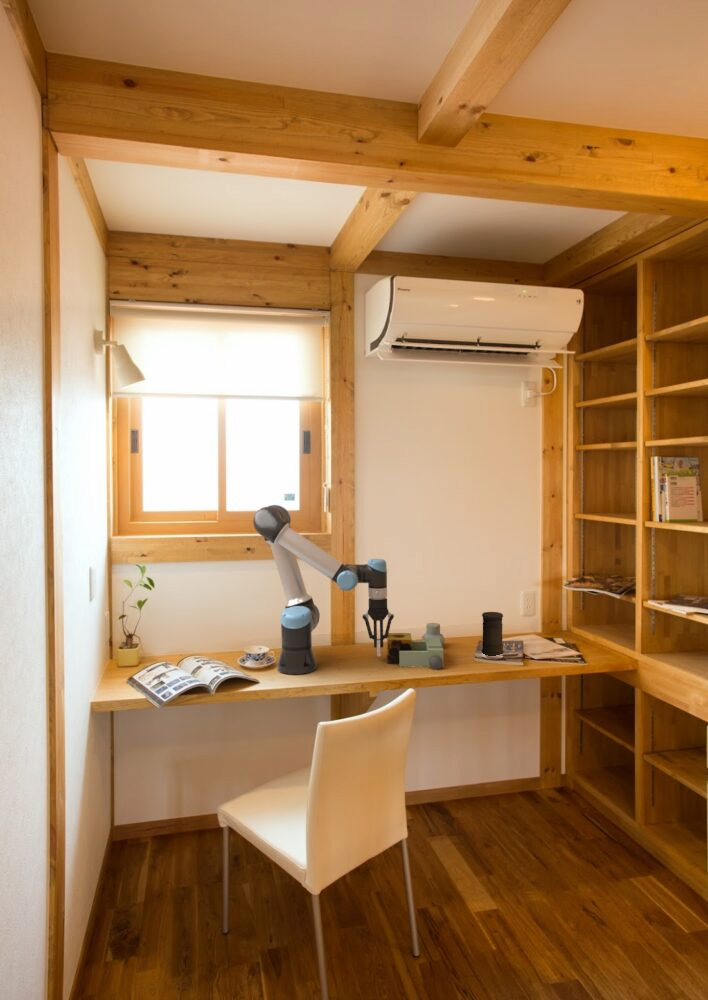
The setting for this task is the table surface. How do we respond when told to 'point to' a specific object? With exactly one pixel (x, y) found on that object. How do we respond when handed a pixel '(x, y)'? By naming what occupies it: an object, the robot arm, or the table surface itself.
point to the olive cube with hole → (397, 646)
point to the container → (492, 633)
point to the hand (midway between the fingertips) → (378, 655)
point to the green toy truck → (423, 654)
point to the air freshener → (433, 632)
